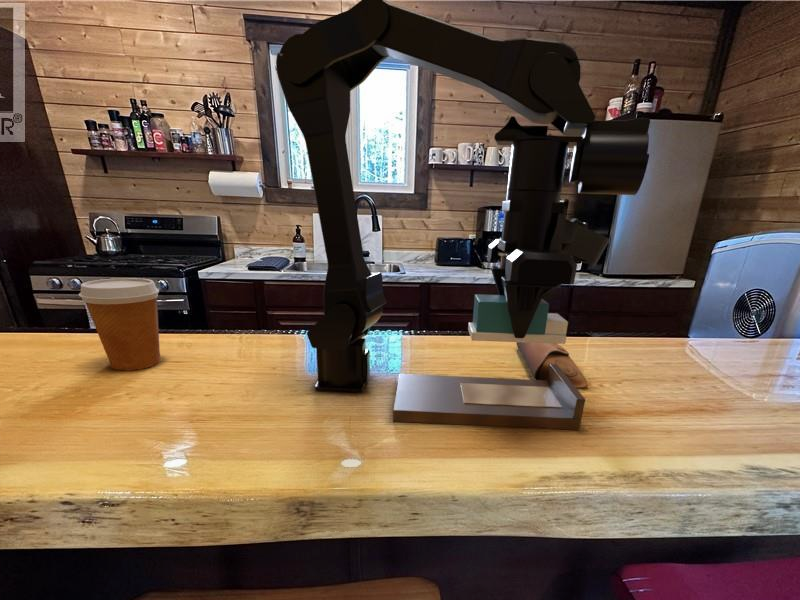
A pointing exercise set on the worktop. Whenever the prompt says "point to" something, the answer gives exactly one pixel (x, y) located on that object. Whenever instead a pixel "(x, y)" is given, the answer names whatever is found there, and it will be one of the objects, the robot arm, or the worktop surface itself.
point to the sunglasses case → (550, 361)
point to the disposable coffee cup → (125, 320)
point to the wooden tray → (490, 401)
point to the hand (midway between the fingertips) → (515, 331)
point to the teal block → (497, 326)
